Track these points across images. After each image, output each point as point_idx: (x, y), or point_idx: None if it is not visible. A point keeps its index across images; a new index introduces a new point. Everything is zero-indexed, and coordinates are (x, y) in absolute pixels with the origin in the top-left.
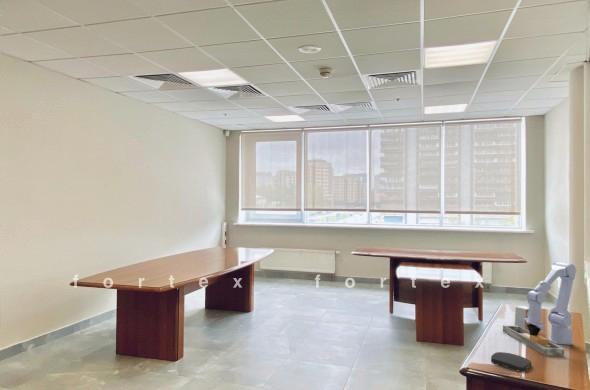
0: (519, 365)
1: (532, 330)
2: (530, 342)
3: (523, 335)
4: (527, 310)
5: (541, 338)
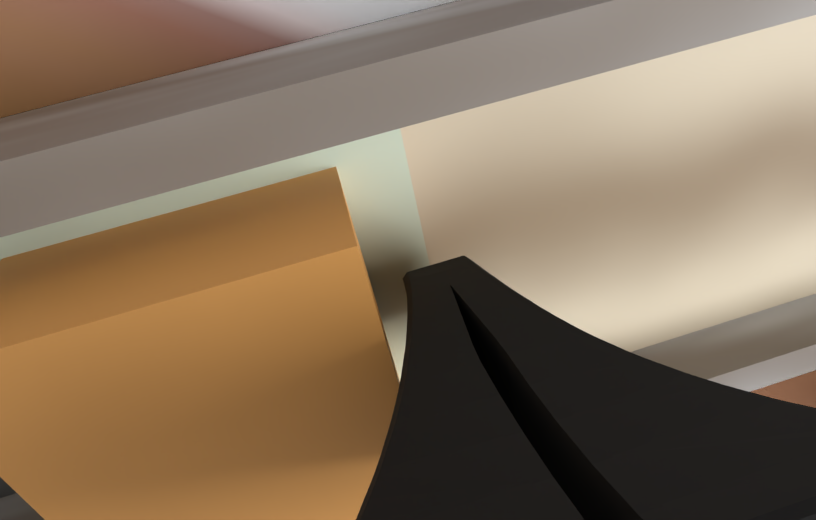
0: None
1: (371, 484)
2: (69, 125)
3: (755, 163)
4: None
5: (151, 496)
